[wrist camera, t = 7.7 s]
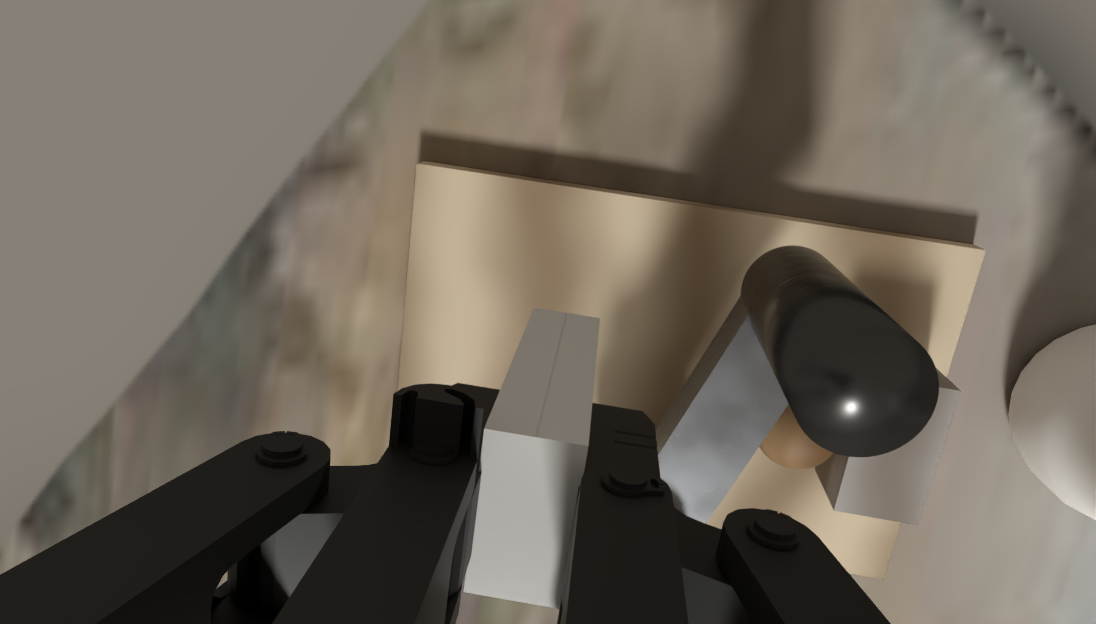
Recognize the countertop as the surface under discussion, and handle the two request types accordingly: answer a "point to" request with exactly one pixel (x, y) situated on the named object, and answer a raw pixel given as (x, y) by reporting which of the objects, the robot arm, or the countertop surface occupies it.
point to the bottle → (1060, 418)
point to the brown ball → (792, 445)
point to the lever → (793, 378)
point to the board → (671, 318)
